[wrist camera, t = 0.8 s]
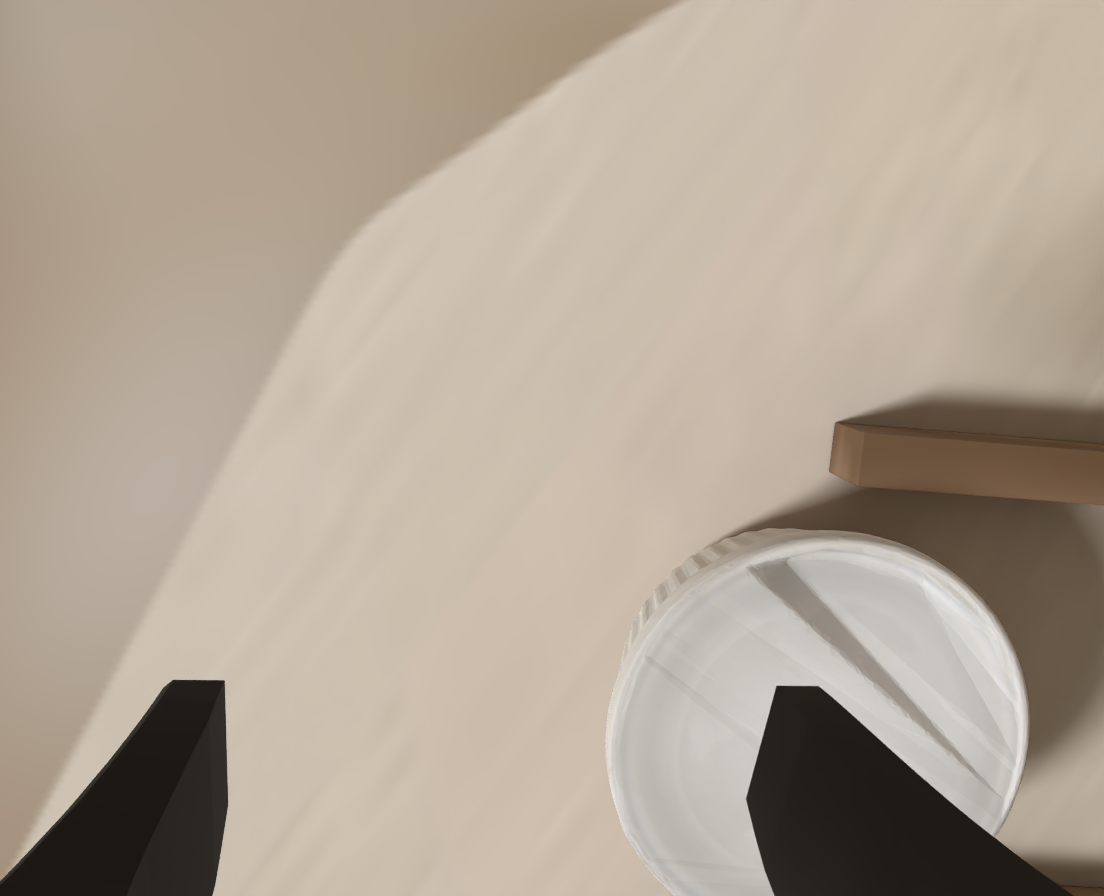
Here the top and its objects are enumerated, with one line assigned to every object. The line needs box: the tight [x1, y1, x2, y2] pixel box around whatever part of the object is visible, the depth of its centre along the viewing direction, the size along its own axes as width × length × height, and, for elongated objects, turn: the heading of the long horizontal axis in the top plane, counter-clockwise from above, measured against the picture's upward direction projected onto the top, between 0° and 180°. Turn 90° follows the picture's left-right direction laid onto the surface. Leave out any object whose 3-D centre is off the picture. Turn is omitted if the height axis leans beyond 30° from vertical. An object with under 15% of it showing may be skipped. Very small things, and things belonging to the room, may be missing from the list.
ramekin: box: [605, 528, 1030, 896], centre depth 28 cm, size 11×11×5 cm
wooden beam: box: [829, 423, 1104, 896], centre depth 29 cm, size 16×16×4 cm
